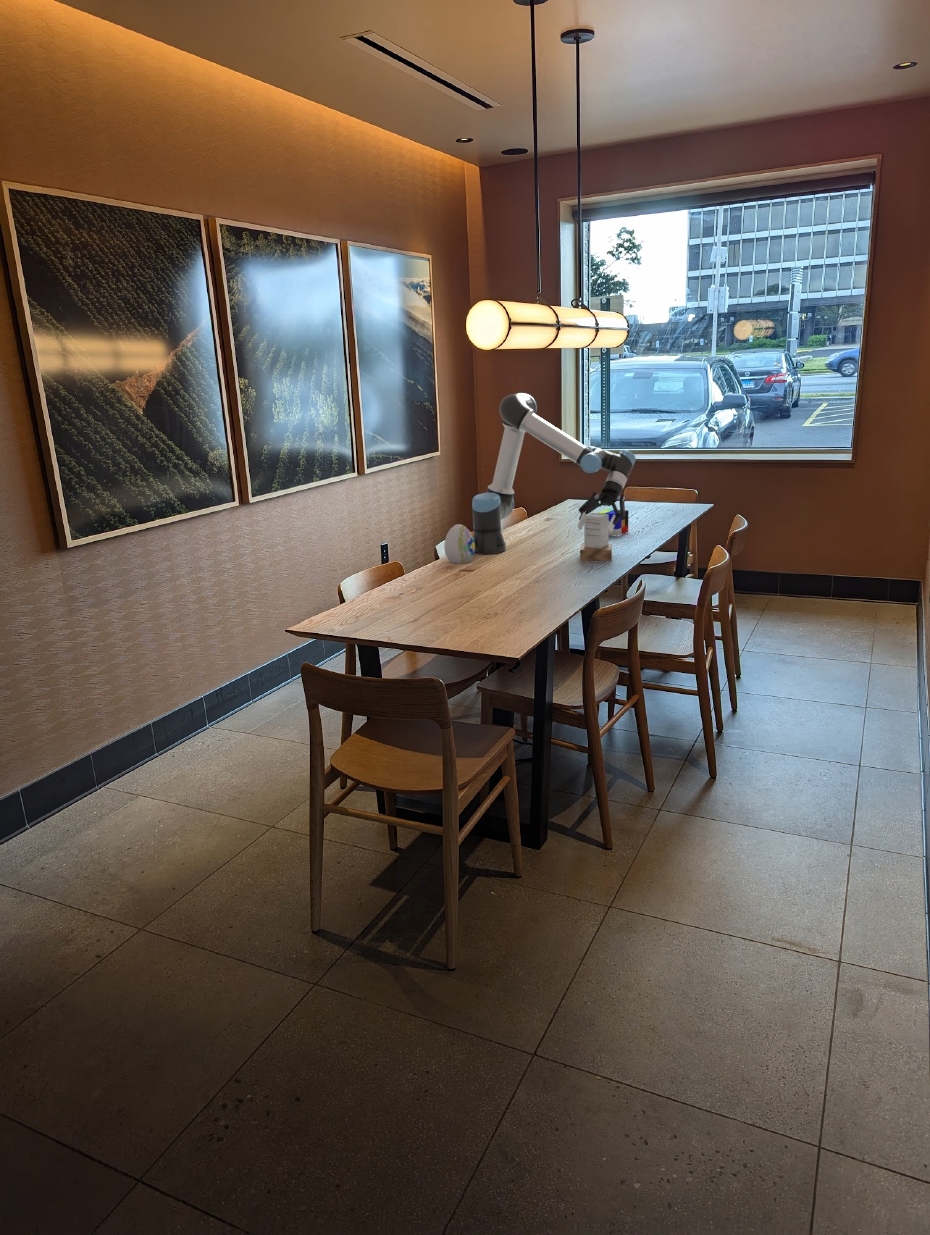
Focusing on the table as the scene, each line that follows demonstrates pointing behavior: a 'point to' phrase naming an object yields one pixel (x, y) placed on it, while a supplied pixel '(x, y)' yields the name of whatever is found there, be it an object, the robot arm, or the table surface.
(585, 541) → the supplement box
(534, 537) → the table surface
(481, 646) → the table surface
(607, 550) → the walnut box
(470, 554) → the decorative egg
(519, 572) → the table surface
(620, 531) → the puzzle toy
